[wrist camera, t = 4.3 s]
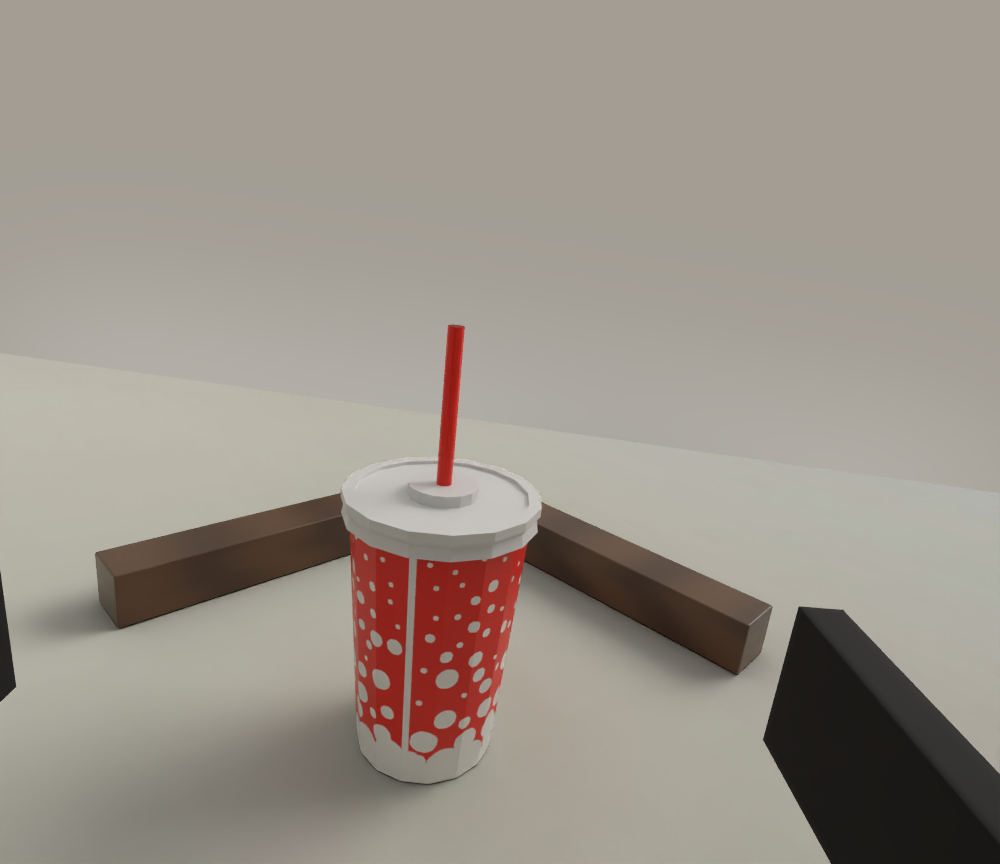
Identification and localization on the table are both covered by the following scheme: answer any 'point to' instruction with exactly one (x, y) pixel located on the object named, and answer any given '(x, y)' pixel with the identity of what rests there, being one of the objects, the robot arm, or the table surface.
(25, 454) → the table surface
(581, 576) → the bracket
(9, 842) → the table surface
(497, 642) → the beverage cup
